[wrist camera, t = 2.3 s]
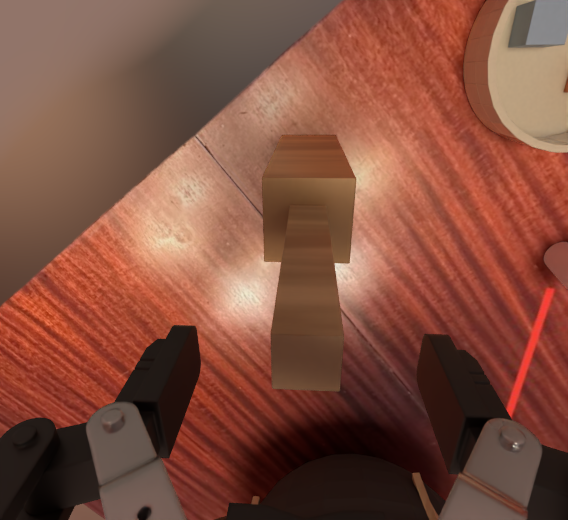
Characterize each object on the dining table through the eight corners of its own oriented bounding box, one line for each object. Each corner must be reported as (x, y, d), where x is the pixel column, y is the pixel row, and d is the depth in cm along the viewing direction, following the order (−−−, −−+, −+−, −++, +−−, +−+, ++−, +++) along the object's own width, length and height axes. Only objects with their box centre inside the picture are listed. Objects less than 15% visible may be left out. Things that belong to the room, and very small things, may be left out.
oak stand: (281, 134, 42) (261, 177, 24) (336, 135, 42) (356, 178, 24) (282, 187, 45) (264, 261, 27) (333, 188, 45) (349, 263, 27)
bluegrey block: (516, 5, 36) (536, -1, 33) (554, 5, 35) (577, -2, 32) (507, 47, 37) (525, 45, 34) (543, 47, 37) (564, 44, 34)
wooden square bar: (289, 204, 25) (270, 333, 12) (326, 205, 25) (344, 336, 12) (289, 238, 26) (271, 389, 14) (324, 239, 26) (339, 391, 13)
